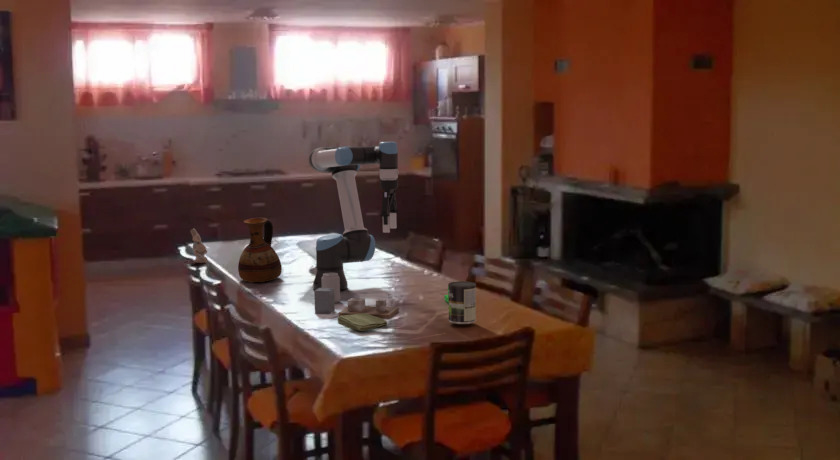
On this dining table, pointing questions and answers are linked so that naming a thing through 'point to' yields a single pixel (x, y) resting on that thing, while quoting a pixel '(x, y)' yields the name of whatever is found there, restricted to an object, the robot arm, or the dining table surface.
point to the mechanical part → (447, 296)
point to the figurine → (198, 247)
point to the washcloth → (361, 321)
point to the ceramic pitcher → (259, 253)
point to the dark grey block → (324, 300)
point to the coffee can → (462, 302)
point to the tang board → (369, 308)
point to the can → (332, 284)
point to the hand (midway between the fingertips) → (389, 230)
